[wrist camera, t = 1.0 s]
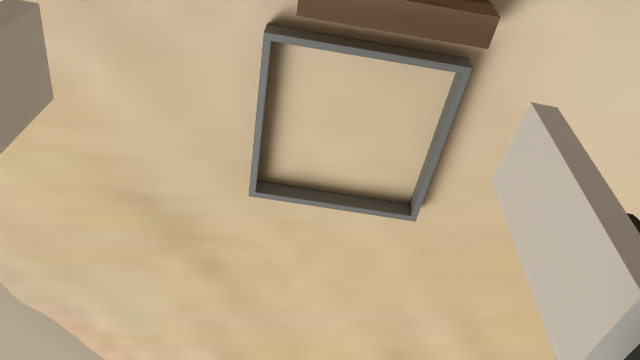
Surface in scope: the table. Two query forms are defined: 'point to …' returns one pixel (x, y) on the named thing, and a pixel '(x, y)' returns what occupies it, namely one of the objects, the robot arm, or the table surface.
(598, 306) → the robot arm
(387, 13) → the edge strip
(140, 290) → the table surface
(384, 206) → the frame
